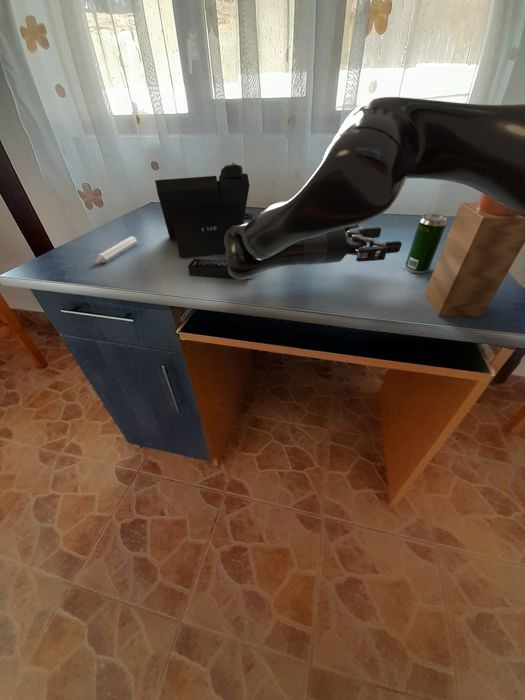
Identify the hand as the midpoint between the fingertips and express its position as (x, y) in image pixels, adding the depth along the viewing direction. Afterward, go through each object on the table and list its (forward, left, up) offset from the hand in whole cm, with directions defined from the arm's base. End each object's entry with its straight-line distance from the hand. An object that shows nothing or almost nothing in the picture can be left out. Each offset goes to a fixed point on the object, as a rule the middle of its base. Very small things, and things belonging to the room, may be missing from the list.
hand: (389, 238), depth 65 cm
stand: (-11, +13, -8) cm, 19 cm away
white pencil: (+68, -7, -8) cm, 69 cm away
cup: (-11, +13, +10) cm, 20 cm away
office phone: (+43, -23, -8) cm, 49 cm away
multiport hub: (+38, +2, -8) cm, 39 cm away
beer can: (-9, -3, -8) cm, 13 cm away
